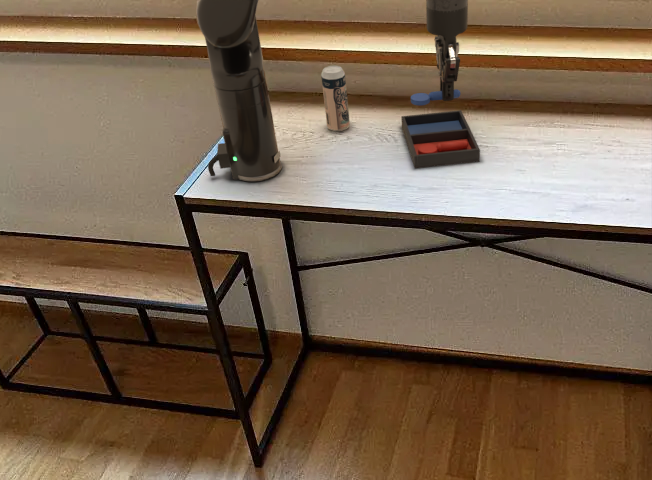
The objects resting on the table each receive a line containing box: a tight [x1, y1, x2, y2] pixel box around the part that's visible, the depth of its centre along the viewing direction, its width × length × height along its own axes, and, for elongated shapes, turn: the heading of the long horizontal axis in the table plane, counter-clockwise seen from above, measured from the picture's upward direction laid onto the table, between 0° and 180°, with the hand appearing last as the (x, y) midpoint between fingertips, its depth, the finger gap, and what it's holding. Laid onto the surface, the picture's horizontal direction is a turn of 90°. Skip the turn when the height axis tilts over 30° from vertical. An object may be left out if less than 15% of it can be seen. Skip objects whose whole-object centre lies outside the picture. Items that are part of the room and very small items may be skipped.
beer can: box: [320, 65, 351, 132], centre depth 144 cm, size 5×5×12 cm
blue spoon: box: [410, 88, 461, 106], centre depth 139 cm, size 10×4×2 cm, turn 98°
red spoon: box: [418, 141, 468, 155], centre depth 137 cm, size 10×4×2 cm, turn 98°
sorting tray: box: [400, 109, 481, 169], centre depth 140 cm, size 13×18×2 cm
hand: (446, 97), depth 139 cm, fingers closed on blue spoon, 1 cm apart
